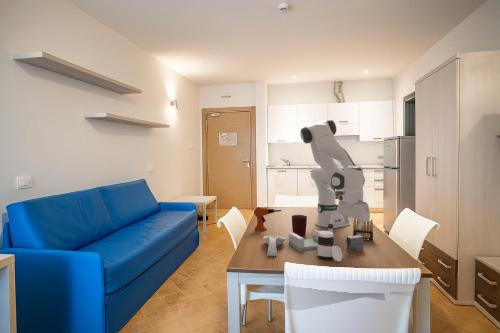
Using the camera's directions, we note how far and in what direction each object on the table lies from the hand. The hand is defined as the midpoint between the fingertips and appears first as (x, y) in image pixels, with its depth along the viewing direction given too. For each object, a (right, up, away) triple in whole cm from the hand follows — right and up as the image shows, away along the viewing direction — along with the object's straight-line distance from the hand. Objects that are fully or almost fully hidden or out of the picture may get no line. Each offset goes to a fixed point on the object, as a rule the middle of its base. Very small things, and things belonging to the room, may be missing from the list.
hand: (352, 226), depth 144 cm
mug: (-22, -11, +29) cm, 38 cm away
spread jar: (-14, -13, -9) cm, 21 cm away
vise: (-18, -12, +9) cm, 24 cm away
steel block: (+1, -12, +1) cm, 12 cm away
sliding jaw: (-11, -10, +12) cm, 19 cm away
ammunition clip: (+12, -12, +19) cm, 25 cm away
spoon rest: (-39, -13, +5) cm, 41 cm away
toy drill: (-40, -11, +36) cm, 55 cm away
